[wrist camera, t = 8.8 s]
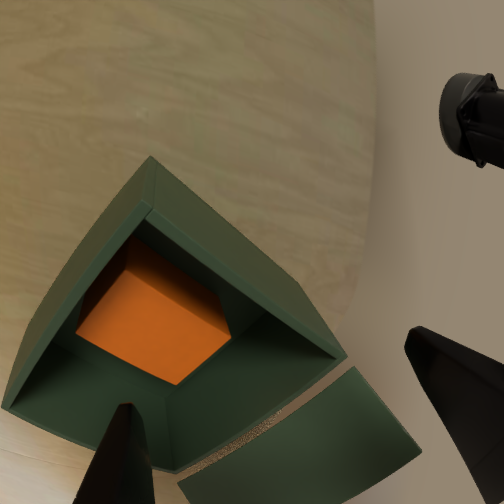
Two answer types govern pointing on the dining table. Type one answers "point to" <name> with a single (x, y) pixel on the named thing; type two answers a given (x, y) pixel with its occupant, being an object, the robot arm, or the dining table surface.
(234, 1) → the dining table surface
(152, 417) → the green storage bin
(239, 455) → the flap
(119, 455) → the robot arm
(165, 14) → the dining table surface
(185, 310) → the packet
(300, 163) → the dining table surface
